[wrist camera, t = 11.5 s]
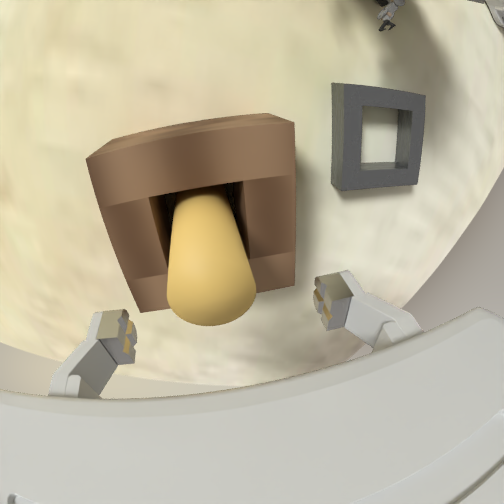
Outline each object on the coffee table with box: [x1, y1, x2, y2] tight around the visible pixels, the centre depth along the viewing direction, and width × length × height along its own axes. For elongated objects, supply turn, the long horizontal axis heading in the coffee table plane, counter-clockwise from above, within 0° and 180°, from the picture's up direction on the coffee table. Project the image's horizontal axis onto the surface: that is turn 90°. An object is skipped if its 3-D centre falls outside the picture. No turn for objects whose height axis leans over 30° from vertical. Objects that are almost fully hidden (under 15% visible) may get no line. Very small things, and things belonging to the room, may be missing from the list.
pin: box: [167, 184, 256, 326], centre depth 17 cm, size 4×4×12 cm
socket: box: [86, 113, 296, 313], centre depth 19 cm, size 12×12×6 cm
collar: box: [331, 83, 426, 191], centre depth 21 cm, size 9×9×2 cm
